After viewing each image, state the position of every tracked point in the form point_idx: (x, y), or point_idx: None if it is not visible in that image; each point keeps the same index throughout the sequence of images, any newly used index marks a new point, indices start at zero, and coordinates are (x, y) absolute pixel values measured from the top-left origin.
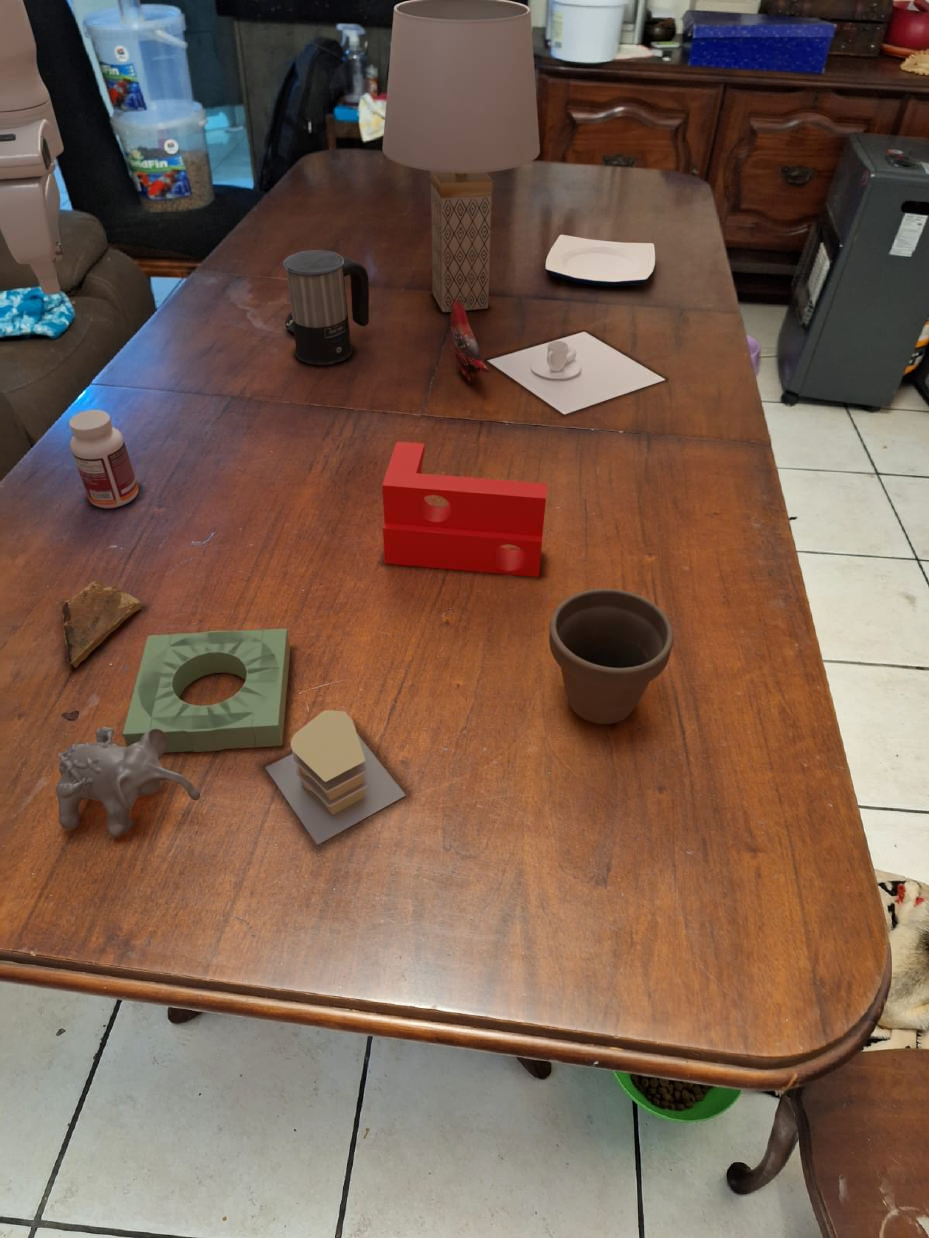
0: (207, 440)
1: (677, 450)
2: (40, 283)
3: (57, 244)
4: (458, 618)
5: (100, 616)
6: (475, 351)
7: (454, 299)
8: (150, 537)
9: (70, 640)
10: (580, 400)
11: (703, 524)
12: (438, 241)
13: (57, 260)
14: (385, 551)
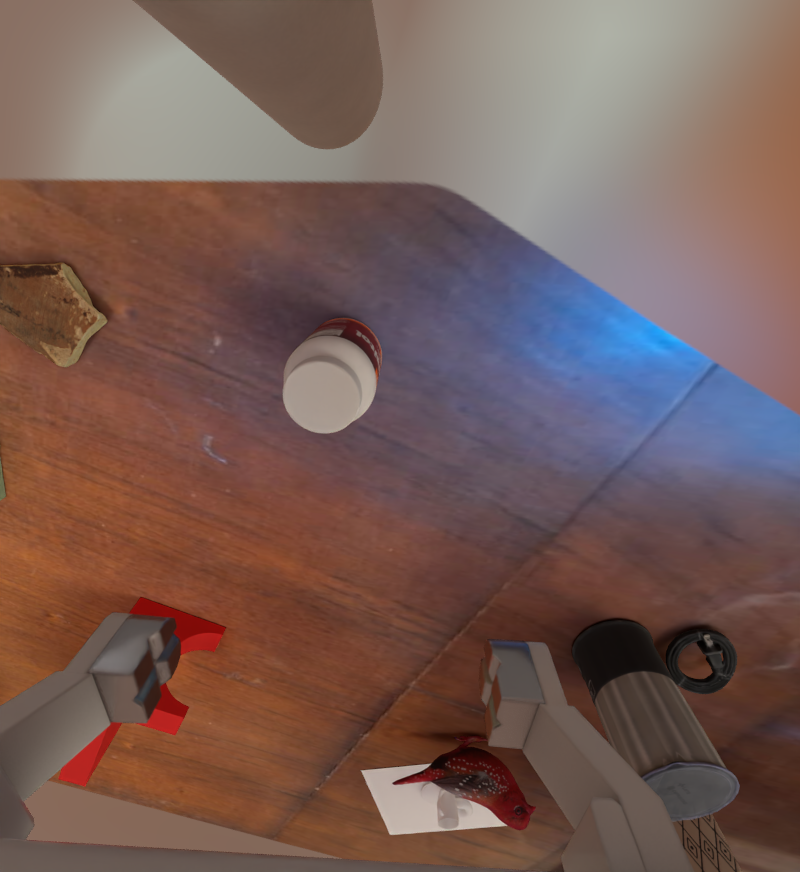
0: (450, 488)
1: (276, 804)
2: (80, 652)
3: (496, 742)
4: (54, 624)
5: (20, 317)
6: (442, 787)
7: None
8: (230, 389)
9: None
10: (381, 785)
11: (169, 782)
12: (697, 868)
13: (481, 663)
14: (131, 610)
